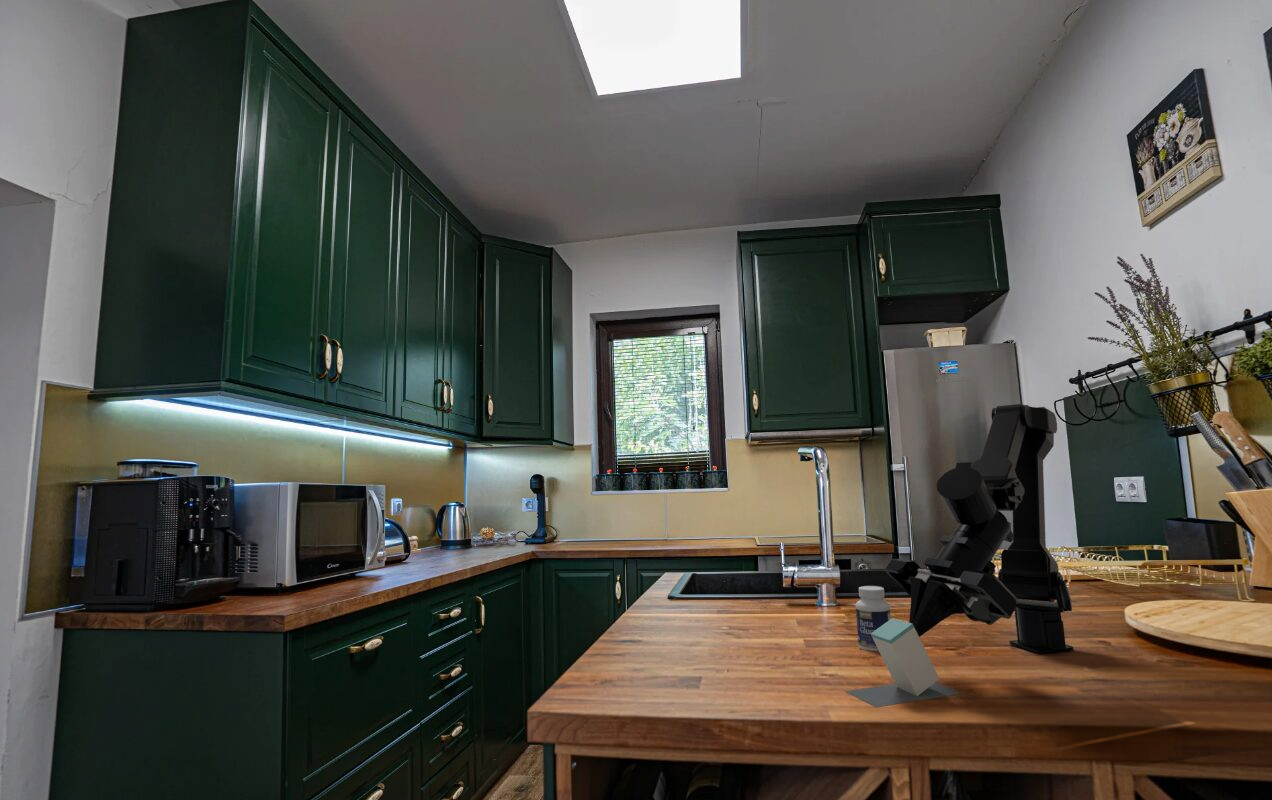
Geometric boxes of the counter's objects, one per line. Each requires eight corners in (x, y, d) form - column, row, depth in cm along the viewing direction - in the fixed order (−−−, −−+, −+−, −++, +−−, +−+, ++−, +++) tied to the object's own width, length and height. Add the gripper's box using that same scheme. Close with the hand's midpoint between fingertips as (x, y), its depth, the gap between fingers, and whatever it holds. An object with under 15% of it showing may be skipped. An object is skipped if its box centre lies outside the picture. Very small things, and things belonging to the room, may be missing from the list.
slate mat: (927, 681, 91) (926, 679, 91) (962, 695, 85) (962, 693, 85) (844, 693, 88) (844, 691, 88) (875, 709, 81) (875, 706, 81)
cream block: (918, 670, 90) (892, 617, 89) (939, 678, 86) (912, 623, 86) (896, 687, 88) (870, 633, 88) (917, 696, 85) (889, 640, 84)
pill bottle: (857, 651, 107) (852, 590, 109) (859, 643, 112) (855, 584, 114) (893, 653, 105) (887, 591, 107) (893, 645, 110) (888, 585, 112)
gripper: (1070, 593, 84) (1009, 696, 79) (960, 575, 101) (905, 658, 97) (1013, 534, 82) (948, 635, 78) (912, 526, 100) (854, 608, 96)
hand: (912, 635), depth 87 cm, fingers closed
